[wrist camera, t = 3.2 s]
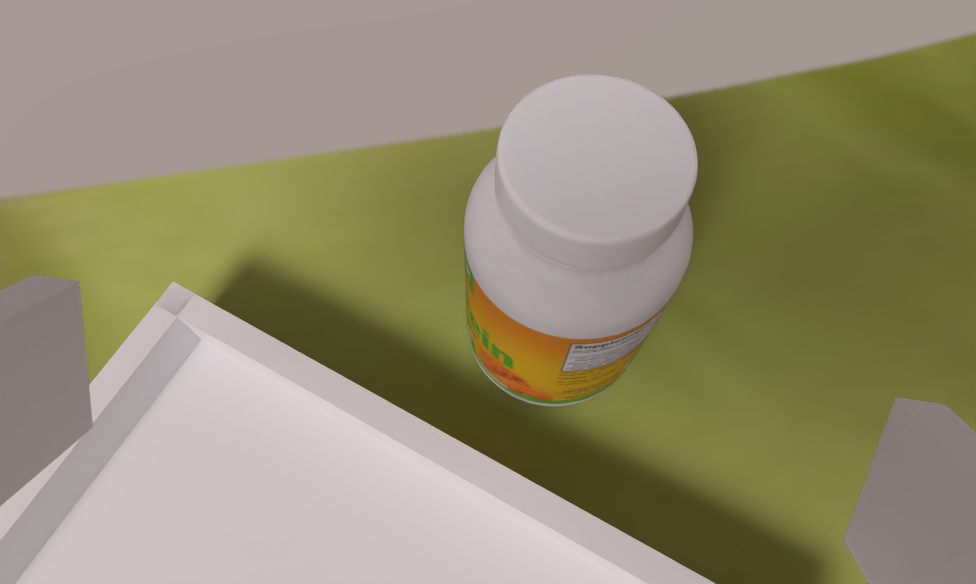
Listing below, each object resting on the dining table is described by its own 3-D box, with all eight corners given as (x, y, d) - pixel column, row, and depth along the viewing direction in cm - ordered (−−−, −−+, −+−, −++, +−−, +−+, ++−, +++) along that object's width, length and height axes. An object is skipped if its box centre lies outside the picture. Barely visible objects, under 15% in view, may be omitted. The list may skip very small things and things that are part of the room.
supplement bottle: (442, 286, 23) (420, 89, 14) (589, 232, 24) (655, 15, 15) (505, 437, 21) (526, 317, 12) (663, 372, 22) (789, 217, 13)
